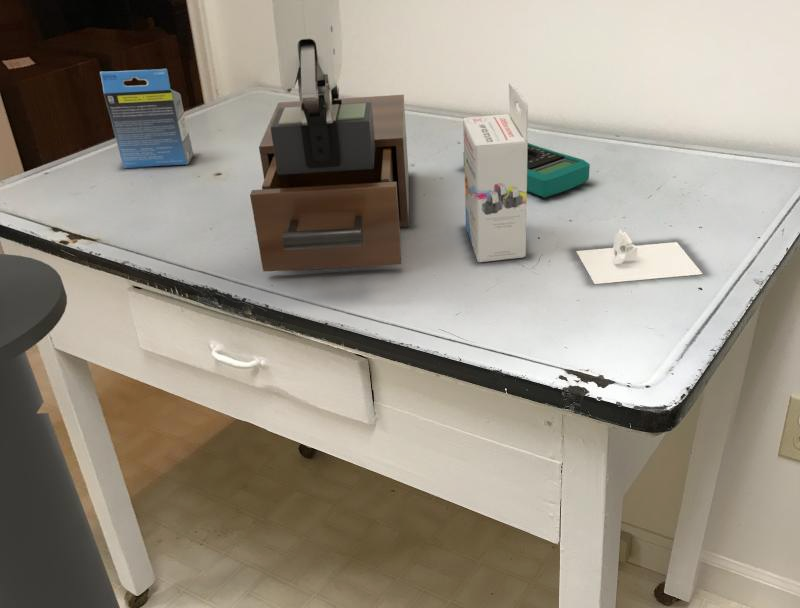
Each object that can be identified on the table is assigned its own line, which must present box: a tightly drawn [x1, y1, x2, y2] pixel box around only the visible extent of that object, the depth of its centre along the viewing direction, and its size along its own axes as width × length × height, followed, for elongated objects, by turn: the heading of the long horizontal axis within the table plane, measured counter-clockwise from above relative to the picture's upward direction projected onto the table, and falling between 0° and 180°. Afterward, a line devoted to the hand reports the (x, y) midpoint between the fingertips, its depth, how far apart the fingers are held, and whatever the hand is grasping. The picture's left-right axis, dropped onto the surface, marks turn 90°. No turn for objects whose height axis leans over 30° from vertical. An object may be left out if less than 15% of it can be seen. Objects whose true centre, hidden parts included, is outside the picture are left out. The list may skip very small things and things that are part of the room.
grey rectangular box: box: [271, 102, 375, 175], centre depth 81 cm, size 9×6×5 cm, turn 90°
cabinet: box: [258, 94, 410, 228], centre depth 95 cm, size 16×15×10 cm
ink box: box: [462, 81, 529, 263], centre depth 82 cm, size 8×5×15 cm, turn 5°
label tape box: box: [99, 68, 194, 169], centre depth 110 cm, size 9×4×12 cm, turn 88°
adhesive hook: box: [611, 228, 638, 265], centre depth 80 cm, size 3×3×3 cm
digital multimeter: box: [463, 142, 591, 199], centre depth 100 cm, size 7×15×3 cm, turn 36°
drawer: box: [249, 146, 403, 273], centre depth 84 cm, size 19×13×8 cm
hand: (326, 152), depth 82 cm, fingers closed on grey rectangular box, 6 cm apart
